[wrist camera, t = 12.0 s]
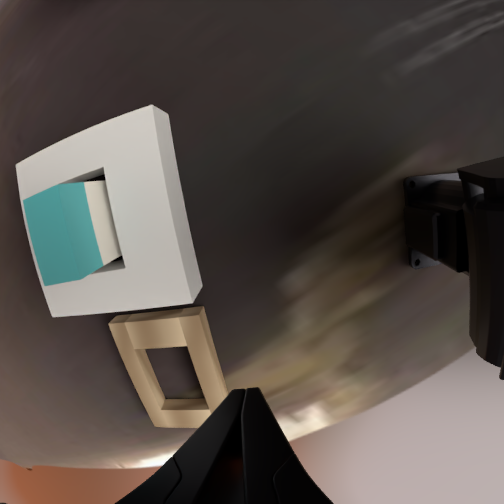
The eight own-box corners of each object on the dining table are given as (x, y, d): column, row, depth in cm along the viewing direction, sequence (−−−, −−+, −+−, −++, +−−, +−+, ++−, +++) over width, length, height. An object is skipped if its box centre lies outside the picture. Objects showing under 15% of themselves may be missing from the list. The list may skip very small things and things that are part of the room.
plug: (118, 179, 19) (57, 184, 12) (134, 247, 20) (81, 279, 13) (86, 190, 19) (22, 200, 12) (101, 255, 20) (44, 286, 14)
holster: (203, 305, 21) (199, 315, 19) (235, 415, 23) (233, 426, 22) (116, 315, 21) (108, 323, 20) (159, 416, 24) (155, 426, 23)
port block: (168, 114, 18) (152, 104, 15) (202, 285, 20) (192, 303, 18) (39, 164, 19) (15, 164, 16) (72, 302, 21) (52, 317, 19)
